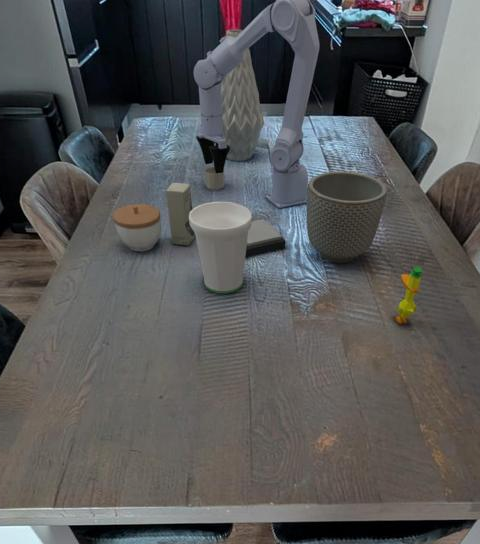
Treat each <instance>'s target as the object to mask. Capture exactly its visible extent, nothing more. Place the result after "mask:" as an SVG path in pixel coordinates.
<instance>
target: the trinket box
mask: <svg viewBox="0 0 480 544" xmlns="http://www.w3.org/2000/svg"><path fill="white" fill-rule="evenodd" d="M112 220H113V223H114V227H115V229H116V233H117V235H118V237H119V239H120V241H121V242H122V243H123V244H124V245H126V246H127V247H128V248H129V249H130V250H132V251H135V252H146V251H149V250H152V249H153V248H154V247H155V246H156V244H157V243H158V241H159V239H160V238H161V233H162V222H161V211H160V210H159V209H158V208H157V207H155V206H154V205H150V204H146V203H135V204H128V205H127V204H126V205H125V206H121V207H119V208H117V209H115V211H114V212H113V214H112Z"/></svg>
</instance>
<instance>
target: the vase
mask: <svg viewBox="0 0 480 544" xmlns="http://www.w3.org/2000/svg"><path fill="white" fill-rule="evenodd" d="M242 31H243V29H238V28H237V29H228V30H226V31H225V32H226V33H225V35H224V37H226V38H227V37H228V36H232V37H235V38H236V37H237V36H238V35H239V34H240V33H241V32H242ZM252 63H253V62H252V57H251V51H250V47H249V48H248V49H246V50H245V51H244V58H243V61H242V62H241V63H240V64H239V65H237V66H236V67H235V68H234V69H233V70H232V71H231V72H229V73H228V74H227V75H226V76H225V77H224V79H223V81H222V83H221V101H222V127H223V133H224V138H225V140H226V145H228V146H230V151H229V152H228V154H227V157H226V160H230V161H234V162H241V161H242V162H243V161H248V160H250V159H251V158H252V157H253V154H254V151H255V150H256V148H257V146H258V143H259V140H260V137H261V132H262V131H261V130H262V129H263V128H264V125H265V119H264V115H263V109H262V106H261V103H260V93H259V90H258V86H257V81H256V74H255V71H254V68H253V64H252Z"/></svg>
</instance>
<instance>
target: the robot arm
mask: <svg viewBox="0 0 480 544" xmlns="http://www.w3.org/2000/svg"><path fill="white" fill-rule="evenodd" d="M316 23H317V22H316V9H315V7H314V6H313V4H312V2H311V0H275V2H273V3H271V4H269V5H268V6H266V7H265V8H264V9H263V10H262V11H261V12H259V13H258V15H257V16H256V17H255V18H254V19H253V20H252V21H251V22H250V23H249V24H248V25H246V27H245V28H244V29H242V32H241V33H240V34H239V35H238V36H237V37H236V38H235V37H232V36H228V37H227V38H226V37H225V36H223V37H221V38H220V40H219V43H220V44H219V45H217V46H216V47H215V48H214V49H213V50H209V51H208V52H207V53H206V58H205V59H200V60H198V61H197V62H196V64H195V65H194V68H193V78H194V80H195V82H196V85H197V86H198V95H199V96H198V97H199V111H200V124H198V131H199V132H198V133H197V136H196V138H195V139H196V141H197V142H198V145H199V147H200V150H201V154H202V157H203V161H204V164H205V165H210V164H213V167H214V169H215V172H216V173H217V174H218V173H223V171H224V172H225V165H226V160H227V158H226V157H227V154H228V152H229V151H230V146H228V145H226V140H225V138H224V133H223V127H222V101H221V83H222V81H223V79H224V77H225V76H226V75H227V74H228V73H229V72H231V71H232V70H233V69H234V68H235V67H236V66H237V65H239V64H240V63H241V62H242V61H243V58H244V51H245V50H246V49H248V48H249V49H250V48H251V46H253V45H254V44H255V43H257V41H259V40H260V39H261V38H262V37H264V36H265V35H266V34H267V33H274V32H276V31H277V33H278V34H279V35H281V37H283V39H285V40H286V41H287V42H288V43H289V45H290V47H291V48H292V51H293V52H294V58H293V63H292V69H291V70H292V71H291V75H290V80H289V86H288V91H287V95H286V101H285V105H284V106H285V107H284V112H283V118H282V122H281V126H280V127H281V128H280V130H279V131H278V134H277V136H276V139H275V143H274V146H273V147H272V148H271V149H270V153H269V163H270V165H271V166H272V181H271V182H272V183H271V184H272V185H271V186H272V187H271V194H268V195H265V198H266V199H267V200H268V201H269V202H271V203H272V204H273V205H274V206H275V207H277V208H278V209H282V208H287V207H292V206H296V205H301V204H307V188H308V183H309V173H308V169H307V168H306V166H305V165H304V164H300V159H301V158H302V156H303V154H304V150H305V149H304V148H305V147H304V143H303V140H304V139H303V138H304V134H305V133H304V132H303V125H304V122H305V121H304V120H305V116H306V112H307V106H308V103H309V97H310V94H311V93H310V92H311V89H312V84H313V79H314V74H315V71H316V70H315V69H316V66H317V62H318V57H319V52H320V38H319V34H318V29H317V24H316Z"/></svg>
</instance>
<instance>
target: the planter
mask: <svg viewBox="0 0 480 544" xmlns="http://www.w3.org/2000/svg"><path fill="white" fill-rule="evenodd" d="M387 194H388V189H387V186H386V185H385V183H383V181H381V180H380V179H378V178H376V177H374V176H372V175H368V174H365V173H360V172H356V171H343V170H342V171H341V170H340V171H339V170H338V171H327V172H323V173H319V174H317V175H315V176H313V177H311V179H309V180H308V187H307V203H306V232H307V236H308V237H307V239H308V242H309V243H310V245H311V247H312V248H313V249H314V250H315V251H316V252H318V253H319V255H320V256H321V258H323V259H324V260H325V261H327V262H330V263H333V264H334V263H336V264H346V263H349V262H352V261H354V260H355V258H357V257H358V256H360V255H361V256H362V254H364V253H365V252H366V251H367V250H369V249H370V247H371V245H372V244H373V242H374V240H375V237H376V235H377V231H378V228H379V225H380V222H381V219H382V216H383V211H384V207H385V204H386V200H387V196H388V195H387Z"/></svg>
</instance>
